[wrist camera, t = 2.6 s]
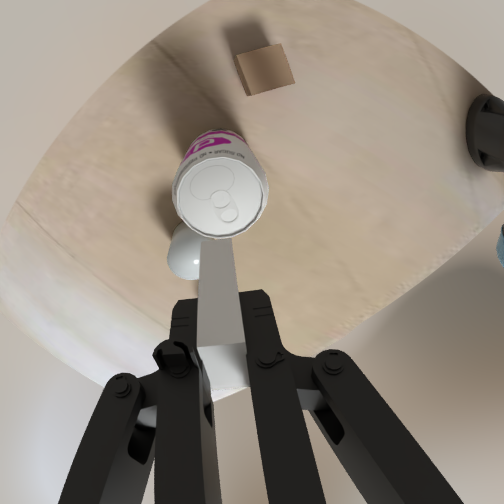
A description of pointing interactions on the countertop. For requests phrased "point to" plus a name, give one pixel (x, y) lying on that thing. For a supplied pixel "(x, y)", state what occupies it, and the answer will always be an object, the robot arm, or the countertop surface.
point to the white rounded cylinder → (185, 252)
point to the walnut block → (263, 69)
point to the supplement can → (219, 185)
